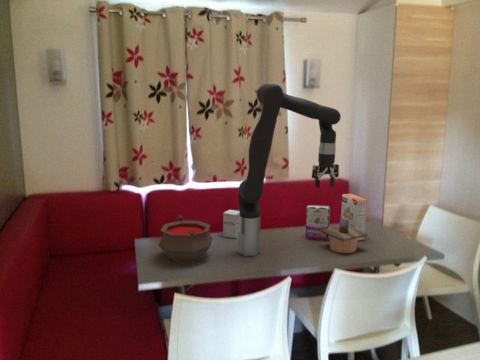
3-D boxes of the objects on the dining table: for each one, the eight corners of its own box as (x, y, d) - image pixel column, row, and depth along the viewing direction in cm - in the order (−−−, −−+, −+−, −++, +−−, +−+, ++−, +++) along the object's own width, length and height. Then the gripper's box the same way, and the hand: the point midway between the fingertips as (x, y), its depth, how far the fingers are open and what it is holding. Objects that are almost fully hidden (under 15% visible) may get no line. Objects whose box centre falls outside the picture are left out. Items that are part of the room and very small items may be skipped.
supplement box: (222, 236, 210) (222, 212, 208) (229, 232, 217) (229, 209, 214) (235, 239, 207) (235, 214, 204) (242, 234, 213) (242, 210, 211)
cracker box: (339, 232, 217) (341, 193, 213) (349, 231, 219) (351, 193, 215) (354, 241, 204) (356, 200, 200) (365, 240, 206) (367, 199, 202)
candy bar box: (328, 237, 210) (330, 206, 207) (327, 240, 205) (329, 208, 202) (306, 235, 213) (307, 204, 210) (305, 238, 208) (306, 206, 205)
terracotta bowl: (342, 254, 187) (343, 239, 186) (324, 246, 197) (325, 232, 196) (361, 249, 193) (362, 235, 192) (343, 242, 203) (343, 228, 202)
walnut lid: (343, 241, 184) (343, 227, 183) (320, 231, 197) (321, 218, 195) (367, 235, 191) (368, 222, 190) (344, 227, 204) (344, 214, 203)
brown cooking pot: (154, 251, 190) (153, 216, 187) (205, 245, 198) (204, 211, 195) (164, 271, 168) (163, 232, 165) (220, 263, 176) (220, 226, 173)
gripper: (320, 154, 186) (318, 189, 189) (344, 152, 193) (341, 187, 196) (309, 152, 192) (307, 186, 195) (333, 151, 199) (330, 184, 202)
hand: (324, 186), depth 195 cm, fingers open, 8 cm apart
